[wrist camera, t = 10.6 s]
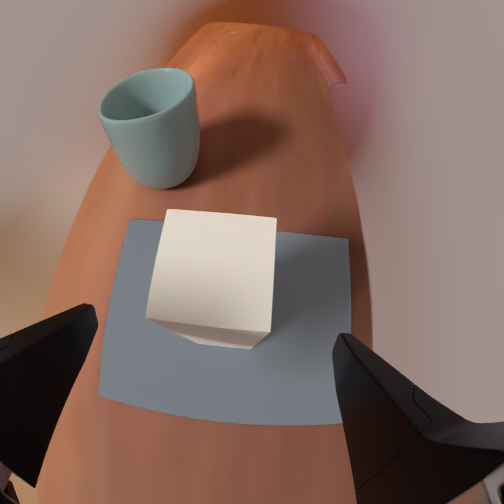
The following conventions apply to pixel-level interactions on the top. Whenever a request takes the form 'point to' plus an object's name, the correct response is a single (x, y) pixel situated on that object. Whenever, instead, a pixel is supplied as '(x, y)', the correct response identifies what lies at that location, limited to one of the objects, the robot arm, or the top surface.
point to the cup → (154, 126)
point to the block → (214, 277)
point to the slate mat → (227, 358)
